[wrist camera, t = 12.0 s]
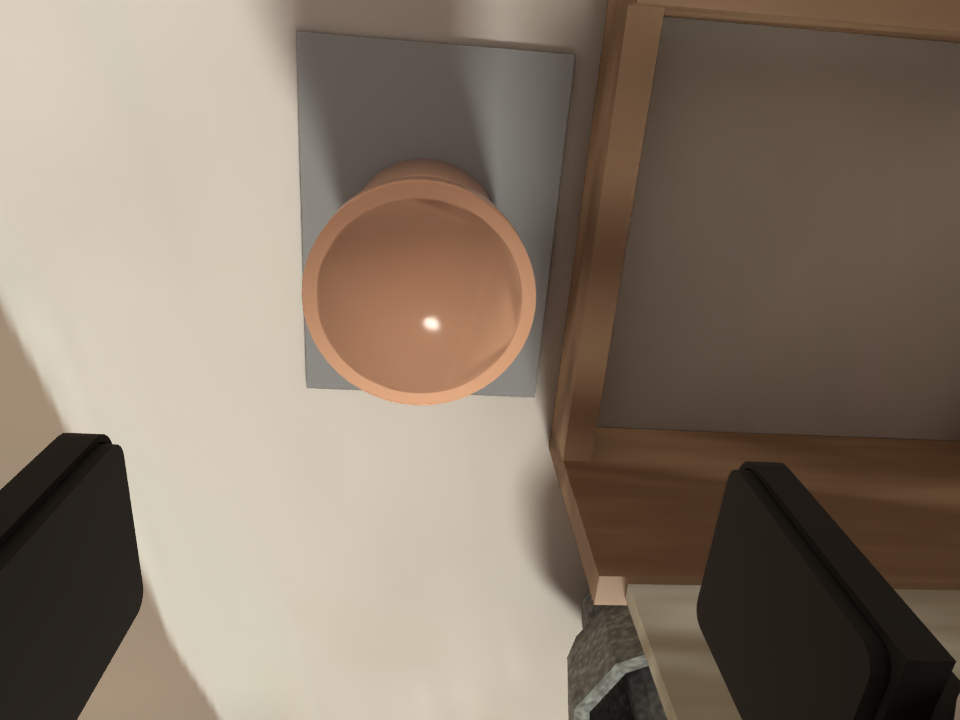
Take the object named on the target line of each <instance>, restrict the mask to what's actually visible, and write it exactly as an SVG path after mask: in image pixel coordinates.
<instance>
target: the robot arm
mask: <svg viewBox="0 0 960 720" xmlns="http://www.w3.org/2000/svg"><path fill="white" fill-rule="evenodd" d="M142 598H143V583H142V576H141V569H140V562H139V556H138V549H137V542H136V535H135V528H134V521H133V514H132V508H131V501H130V494H129V487H128V480H127V473H126V467H125V460H124V454H123V450H122V448H121V446H119V445H114V444H112V442H111V440H110V439H109V437H108V436H106V435H105V434H81V433H63V434H61V435H59V436H58V437H57V438H56V439H55V440H54V441H53V442H51V443H50V444H49V445H48V446H47V447H46V448H45V449H44V450H43V451H42V452H41V453H40V454H39V455H38V456H36V457H35V458H34V459H33V460H32V461H31V462H30V463H29V464H28V465H27V466H26V467H25V468H23V469H22V471H20V472H19V473H18V474H17V475H16V476H15V477H14V478H13V479H12V480H11V481H10V482H9V483H7V485H5V486H4V487H3V488H2V489H1V490H0V720H77V719H78V717H79V715H80V713H81V712H82V710H83V708H84V706H85V705H86V703H87V701H88V699H89V698H90V696H91V694H92V692H93V691H94V689H95V687H96V686H97V684H98V682H99V680H100V679H101V677H102V675H103V673H104V671H105V670H106V668H107V666H108V665H109V663H110V661H111V659H112V657H113V656H114V654H115V652H116V651H117V649H118V647H119V645H120V644H121V642H122V640H123V638H124V637H125V635H126V633H127V631H128V630H129V628H130V626H131V624H132V623H133V621H134V619H135V617H136V616H137V614H138V612H139V610H140V606H141V603H142ZM696 612H697V620H698V624H699V627H700V629H701V631H702V634H703V636H704V638H705V640H706V642H707V644H708V647H709V649H710V651H711V653H712V655H713V658H714V660H715V662H716V664H717V666H718V669H719V671H720V673H721V675H722V677H723V679H724V682H725V684H726V686H727V688H728V690H729V693H730V695H731V697H732V699H733V701H734V704H735V706H736V708H737V710H738V712H739V714H740V717H741V719H742V720H960V680H959V679H958V678H957V676H956V675H955V674H954V673H953V672H952V670H953V668H954V665H955V663H956V660H955V659H954V658H953V657H952V656H951V655H950V653H949V652H948V651H947V650H946V649H945V648H944V646H943V645H942V644H941V643H940V642H939V641H938V640H937V638H936V637H935V636H934V635H933V634H932V633H931V632H930V630H929V629H928V628H927V627H926V626H925V625H924V623H923V622H922V621H921V620H920V619H919V618H918V617H917V615H916V614H915V613H914V612H913V611H912V610H911V608H910V607H909V606H908V605H907V604H906V603H905V602H904V600H903V599H902V598H901V597H900V596H899V595H898V594H897V592H896V591H895V590H894V589H893V588H892V587H891V585H890V584H889V583H888V582H887V581H886V580H885V579H884V577H883V576H882V575H881V574H880V573H879V572H878V570H877V569H876V568H875V567H874V566H873V565H872V564H871V562H870V561H869V560H868V559H867V558H866V557H865V555H864V554H863V553H862V552H861V551H860V550H859V549H858V547H857V546H856V545H855V544H854V543H853V542H852V541H851V539H850V538H849V537H848V536H847V535H846V534H845V532H844V531H843V530H842V529H841V528H840V527H839V526H838V524H837V523H836V522H835V521H834V520H833V519H832V517H831V516H830V515H829V514H828V513H827V512H826V511H825V509H824V508H823V507H822V506H821V505H820V504H819V502H818V501H817V500H816V499H815V498H814V497H813V496H812V494H811V493H810V492H809V491H808V490H807V489H806V488H805V486H804V485H803V484H802V483H801V482H800V481H799V479H798V478H797V477H796V476H795V475H794V474H793V473H792V471H791V470H790V469H789V468H788V467H787V466H786V465H785V464H783V463H779V462H755V461H746V462H744V463H743V464H742V465H741V466H740V468H739V470H733V471H731V473H730V474H729V476H728V479H727V483H726V487H725V491H724V495H723V499H722V503H721V507H720V511H719V515H718V519H717V523H716V527H715V532H714V536H713V540H712V544H711V548H710V552H709V556H708V560H707V564H706V568H705V572H704V576H703V580H702V584H701V588H700V592H699V596H698V600H697V607H696Z"/></svg>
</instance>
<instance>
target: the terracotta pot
mask: <svg viewBox="0 0 960 720" xmlns="http://www.w3.org/2000/svg"><path fill="white" fill-rule="evenodd" d="M302 302H303V311H304V315H305V319H306V323H307V326H308V329H309V331H310V334H311V336H312V339H313V340H314V342H315V344H316V346H317V348H318V349H319V351H320V352H321V354H322V355H323V356H324V358H325V359H326V361H327V362H328V363H329V364H330V365H331V366H332V367H333V368H334V369H335V370H336V371H337V373H339V374H340V375H341V376H342V377H344V378H345V379H346V380H347V381H348V382H350V383H351V384H353V385H355V386H356V387H358V388H359V389H361V390H363V391H365V392H367V393H369V394H371V395H373V396H376V397H379V398H382V399H385V400H388V401H392V402H397V403H401V404H411V405H432V404H439V403H446V402H449V401H453V400H457V399H460V398H463V397H465V396H468V395H470V394H473V393H474V392H476V391H478V390H480V389H482V388H484V387H485V386H487V385H488V384H489V383H491V382H492V381H494V380H495V379H496V378H497V377H499V376H500V375H501V374H502V373H503V372H504V371H505V370H506V369H507V368H508V367H509V366H510V364H511V363H512V362H513V361H514V360H515V358H516V357H517V355H518V354H519V352H520V351H521V349H522V348H523V345H524V343H525V341H526V339H527V337H528V335H529V332H530V329H531V326H532V323H533V318H534V313H535V307H536V287H535V278H534V273H533V269H532V265H531V262H530V260H529V257H528V254H527V252H526V249H525V247H524V245H523V243H522V241H521V239H520V237H519V235H518V233H517V232H516V230H515V228H514V227H513V225H512V224H511V223H510V221H509V220H508V218H507V217H506V216H505V215H504V214H503V213H502V212H501V211H500V210H499V209H498V208H497V207H496V206H495V205H494V204H493V203H492V201H491V199H490V197H489V195H488V194H487V192H486V191H485V190H484V188H483V187H482V186H481V185H480V184H479V183H478V182H477V180H476V179H475V178H473V177H472V176H471V175H470V174H468V173H467V172H465V171H464V170H462V169H460V168H459V167H457V166H454V165H452V164H450V163H447V162H443V161H440V160H434V159H412V160H406V161H402V162H399V163H396V164H394V165H391V166H389V167H387V168H386V169H384V170H382V171H381V172H379V173H378V174H377V175H375V176H374V177H373V178H372V179H371V180H370V181H369V182H368V183H367V184H366V185H365V186H364V188H363V189H362V191H361V192H359V193H358V194H356V195H354V196H353V197H352V198H350V199H349V200H348V201H347V202H346V203H344V204H343V205H342V206H341V207H340V208H339V209H338V210H337V211H336V212H335V213H334V214H333V215H332V217H331V218H330V219H329V221H328V222H327V224H326V225H325V227H324V228H323V230H322V231H321V233H320V234H319V236H318V237H317V239H316V241H315V243H314V245H313V247H312V249H311V251H310V253H309V256H308V259H307V262H306V265H305V270H304V275H303V281H302Z"/></svg>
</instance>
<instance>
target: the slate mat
mask: <svg viewBox="0 0 960 720" xmlns="http://www.w3.org/2000/svg"><path fill="white" fill-rule="evenodd" d="M296 42H297V76H298V110H299V144H300V178H301V212H302V246H303V275H304V270H305V265H306V262H307V259H308V256H309V253H310V251H311V249H312V247H313V245H314V243H315V241H316V239H317V237H318V236H319V234H320V233H321V231H322V230H323V228H324V227H325V225H326V224H327V222H328V221H329V219H330V218H331V217H332V215H333V214H334V213H335V212H336V211H337V210H338V209H339V208H340V207H341V206H342V205H343V204H344V203H346V202H347V201H348V200H349V199H350V198H352V197H353V196H354V195H356V194H358V193H359V192H361V191H362V189H363V188H364V186H365V185H366V184H367V183H368V182H369V181H370V180H371V179H372V178H373V177H374V176H375V175H377V174H378V173H379V172H381V171H382V170H384V169H386V168H387V167H389V166H391V165H394V164H396V163H399V162H402V161H406V160H412V159H434V160H440V161H443V162H447V163H450V164H452V165H454V166H457V167H459V168H460V169H462V170H464V171H465V172H467V173H468V174H470V175H471V176H472V177H473V178H475V179H476V180H477V182H478V183H479V184H480V185H481V186H482V187H483V188H484V190H485V191H486V192H487V194H488V195H489V197H490V199H491V201H492V203H493V204H494V205H495V206H496V207H497V208H498V209H499V210H500V211H501V212H502V213H503V214H504V215H505V216H506V217H507V218H508V220H509V221H510V223H511V224H512V225H513V227H514V228H515V230H516V232H517V233H518V235H519V237H520V239H521V241H522V243H523V245H524V247H525V249H526V252H527V254H528V257H529V260H530V262H531V265H532V269H533V273H534V278H535V287H536V307H535V313H534V318H533V323H532V326H531V329H530V332H529V335H528V337H527V339H526V341H525V343H524V345H523V348H522V349H521V351H520V352H519V354H518V355H517V357H516V358H515V360H514V361H513V362H512V363H511V364H510V366H509V367H508V368H507V369H506V370H505V371H504V372H503V373H502V374H501V375H500V376H499V377H497V378H496V379H495V380H494V381H492V382H491V383H489V384H488V385H487V386H485V387H484V388H482V389H480V390H478V391H476V392H474V393H473V394H470V395H486V396H510V397H535V389H536V381H537V372H538V364H539V355H540V347H541V338H542V330H543V322H544V313H545V305H546V296H547V288H548V279H549V271H550V263H551V254H552V246H553V237H554V229H555V220H556V212H557V204H558V195H559V187H560V178H561V170H562V161H563V153H564V145H565V136H566V128H567V119H568V111H569V102H570V94H571V86H572V77H573V69H574V60H575V55H574V54H563V53H551V52H539V51H527V50H515V49H503V48H491V47H479V46H467V45H455V44H443V43H431V42H419V41H407V40H395V39H383V38H371V37H359V36H347V35H335V34H323V33H311V32H299V31H296ZM305 348H306V382H307V388H318V389H342V390H361V389H359V388H358V387H356V386H355V385H353V384H351V383H350V382H348V381H347V380H346V379H345V378H344V377H342V376H341V375H340V374H339V373H337V371H336V370H335V369H334V368H333V367H332V366H331V365H330V364H329V363H328V362H327V361H326V359H325V358H324V356H323V355H322V354H321V352H320V351H319V349H318V348H317V346H316V344H315V342H314V340H313V339H312V336H311V334H310V331H309V329H308V326H307V323H306V319H305Z"/></svg>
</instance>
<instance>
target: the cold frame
mask: <svg viewBox="0 0 960 720" xmlns="http://www.w3.org/2000/svg"><path fill="white" fill-rule="evenodd" d="M663 16H665V17H676V18H687V19H698V20H710V21H721V22H732V23H743V24H754V25H766V26H777V27H788V28H799V29H811V30H822V31H833V32H844V33H855V34H867V35H878V36H889V37H900V38H912V39H923V40H934V41H945V42H956V43H960V0H608V7H607V14H606V22H605V29H604V37H603V45H602V52H601V60H600V67H599V75H598V82H597V90H596V97H595V105H594V113H593V120H592V128H591V135H590V143H589V150H588V158H587V165H586V173H585V180H584V188H583V196H582V203H581V211H580V218H579V226H578V233H577V241H576V248H575V256H574V264H573V271H572V279H571V286H570V294H569V301H568V309H567V316H566V324H565V331H564V339H563V347H562V354H561V362H560V369H559V377H558V384H557V392H556V399H555V407H554V414H553V422H552V430H551V437H550V445H549V450H550V453H551V457H552V460H553V464H554V467H555V471H556V474H557V478H558V481H559V485H560V488H561V492H562V495H563V499H564V502H565V505H566V509H567V512H568V516H569V519H570V523H571V526H572V530H573V533H574V537H575V540H576V544H577V547H578V551H579V554H580V558H581V561H582V564H583V568H584V571H585V575H586V578H587V582H588V585H589V589H590V592H591V596H592V599H593V603H594V605H628V608H629V611H630V614H631V617H632V620H633V622H634V625H635V628H636V631H637V634H638V637H639V640H640V642H641V645H642V648H643V651H644V654H645V657H646V660H647V663H648V665H649V668H650V671H651V674H652V677H653V680H654V683H655V685H656V688H657V691H658V694H659V697H660V700H661V703H662V705H663V708H664V711H665V714H666V717H667V720H742V719H741V717H740V714H739V712H738V710H737V708H736V706H735V704H734V701H733V699H732V697H731V695H730V693H729V690H728V688H727V686H726V684H725V682H724V679H723V677H722V675H721V673H720V671H719V669H718V666H717V664H716V662H715V660H714V658H713V655H712V653H711V651H710V649H709V647H708V644H707V642H706V640H705V638H704V636H703V634H702V631H701V629H700V627H699V624H698V620H697V612H696V607H697V600H698V596H699V592H700V588H701V584H702V580H703V576H704V572H705V568H706V564H707V560H708V556H709V552H710V548H711V544H712V540H713V536H714V532H715V527H716V523H717V519H718V515H719V511H720V507H721V503H722V499H723V495H724V491H725V487H726V483H727V479H728V476H729V474H730V473H731V471H733V470H739V468H740V466H741V465H742V464H743V463H744V462H746V461H755V462H779V463H783V464H785V465H786V466H787V467H788V468H789V469H790V470H791V471H792V473H793V474H794V475H795V476H796V477H797V478H798V479H799V481H800V482H801V483H802V484H803V485H804V486H805V488H806V489H807V490H808V491H809V492H810V493H811V494H812V496H813V497H814V498H815V499H816V500H817V501H818V502H819V504H820V505H821V506H822V507H823V508H824V509H825V511H826V512H827V513H828V514H829V515H830V516H831V517H832V519H833V520H834V521H835V522H836V523H837V524H838V526H839V527H840V528H841V529H842V530H843V531H844V532H845V534H846V535H847V536H848V537H849V538H850V539H851V541H852V542H853V543H854V544H855V545H856V546H857V547H858V549H859V550H860V551H861V552H862V553H863V554H864V555H865V557H866V558H867V559H868V560H869V561H870V562H871V564H872V565H873V566H874V567H875V568H876V569H877V570H878V572H879V573H880V574H881V575H882V576H883V577H884V579H885V580H886V581H887V582H888V583H889V584H890V585H891V587H892V588H893V589H894V590H895V591H896V592H897V594H898V595H899V596H900V597H901V598H902V599H903V600H904V602H905V603H906V604H907V605H908V606H909V607H910V608H911V610H912V611H913V612H914V613H915V614H916V615H917V617H918V618H919V619H920V620H921V621H922V622H923V623H924V625H925V626H926V627H927V628H928V629H929V630H930V632H931V633H932V634H933V635H934V636H935V637H936V638H937V640H938V641H939V642H940V643H941V644H942V645H943V646H944V648H945V649H946V650H947V651H948V652H949V653H950V655H951V656H952V657H953V658H954V659H955V660H956V663H955V665H954V668H953V670H952V672H953V673H954V674H955V675H956V676H957V678H958V679H959V680H960V441H940V440H914V439H888V438H862V437H835V436H809V435H783V434H757V433H731V432H705V431H679V430H652V429H626V428H600V427H597V423H598V417H599V410H600V404H601V398H602V392H603V386H604V380H605V373H606V367H607V361H608V355H609V349H610V343H611V336H612V330H613V324H614V318H615V312H616V306H617V300H618V293H619V287H620V281H621V275H622V269H623V263H624V256H625V250H626V244H627V238H628V232H629V226H630V219H631V213H632V207H633V201H634V195H635V189H636V182H637V176H638V170H639V164H640V158H641V152H642V145H643V139H644V133H645V127H646V121H647V115H648V108H649V102H650V96H651V90H652V84H653V78H654V72H655V65H656V59H657V53H658V47H659V41H660V35H661V28H662V22H663Z"/></svg>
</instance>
